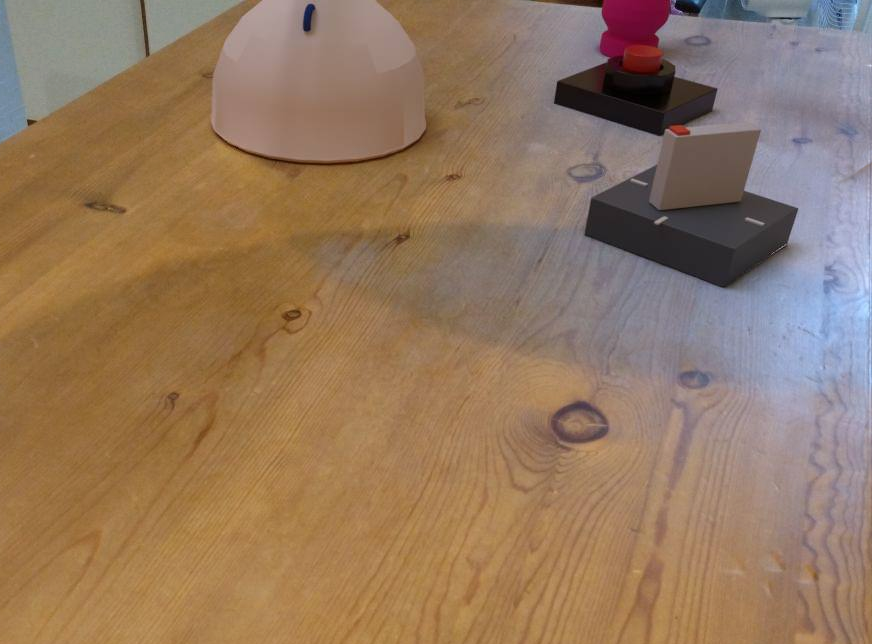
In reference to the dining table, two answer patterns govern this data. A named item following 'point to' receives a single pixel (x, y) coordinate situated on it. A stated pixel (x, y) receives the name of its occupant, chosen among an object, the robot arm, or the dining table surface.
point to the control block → (636, 96)
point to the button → (642, 58)
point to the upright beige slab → (703, 165)
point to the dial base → (691, 229)
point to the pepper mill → (632, 24)
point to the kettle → (319, 82)
